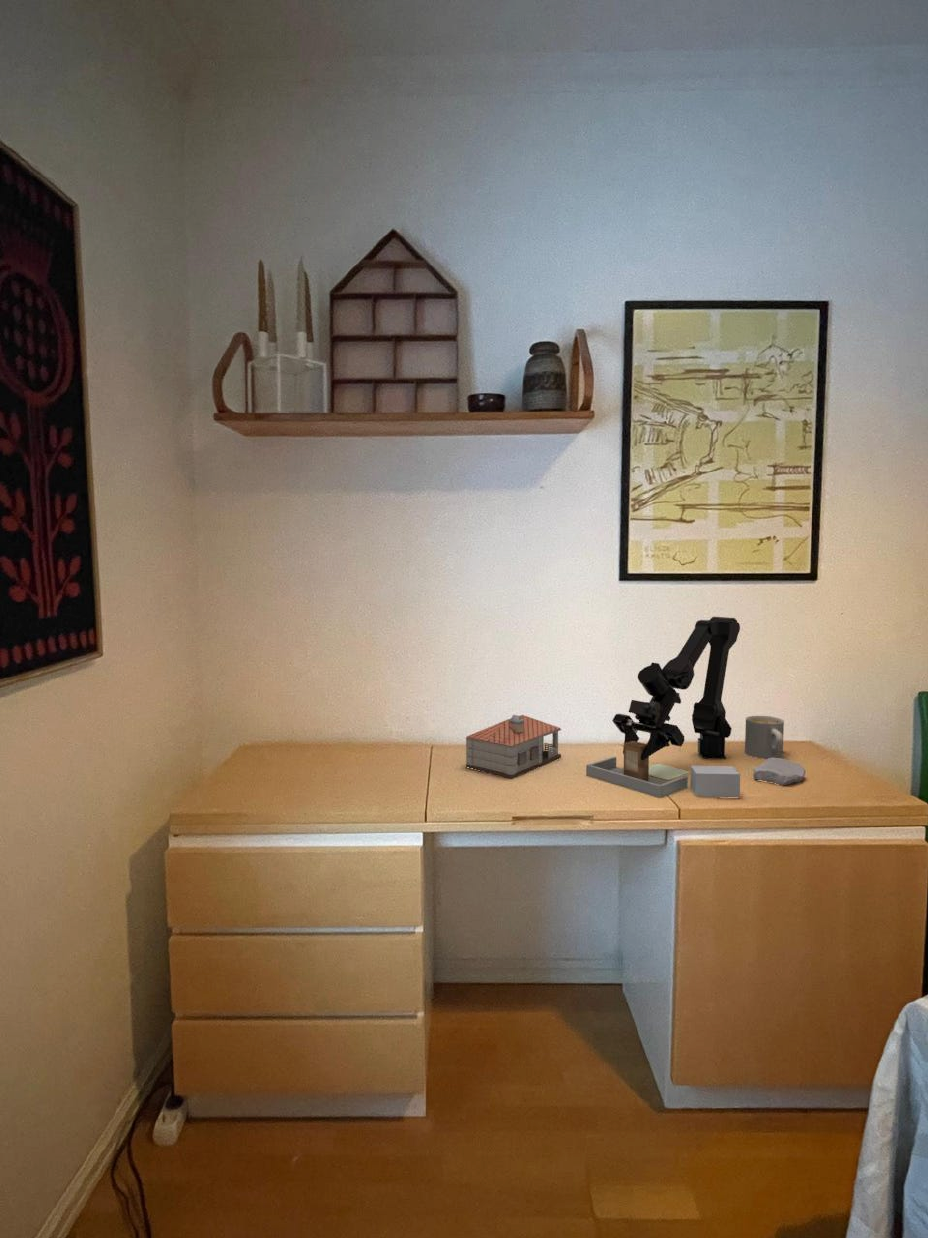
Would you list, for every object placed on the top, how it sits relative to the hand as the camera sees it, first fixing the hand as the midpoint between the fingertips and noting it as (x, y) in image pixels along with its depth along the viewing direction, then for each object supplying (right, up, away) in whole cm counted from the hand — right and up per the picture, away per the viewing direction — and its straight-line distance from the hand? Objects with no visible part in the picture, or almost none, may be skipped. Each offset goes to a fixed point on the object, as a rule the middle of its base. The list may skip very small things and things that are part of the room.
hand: (632, 756), depth 180 cm
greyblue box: (+18, -7, -8) cm, 21 cm away
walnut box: (+1, -6, +1) cm, 7 cm away
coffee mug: (+43, -4, +23) cm, 49 cm away
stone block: (+38, -7, +3) cm, 39 cm away
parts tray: (+1, -7, +2) cm, 7 cm away
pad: (+10, -6, +9) cm, 14 cm away
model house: (-28, -6, +19) cm, 34 cm away
